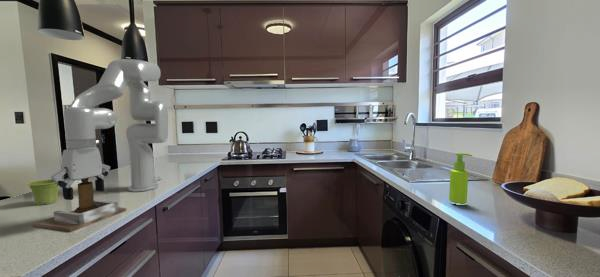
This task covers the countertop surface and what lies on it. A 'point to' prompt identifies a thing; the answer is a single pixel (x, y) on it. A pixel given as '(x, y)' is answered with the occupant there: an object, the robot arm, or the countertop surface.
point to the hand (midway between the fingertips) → (85, 195)
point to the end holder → (80, 217)
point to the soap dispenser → (459, 181)
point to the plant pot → (44, 191)
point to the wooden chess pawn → (85, 197)
